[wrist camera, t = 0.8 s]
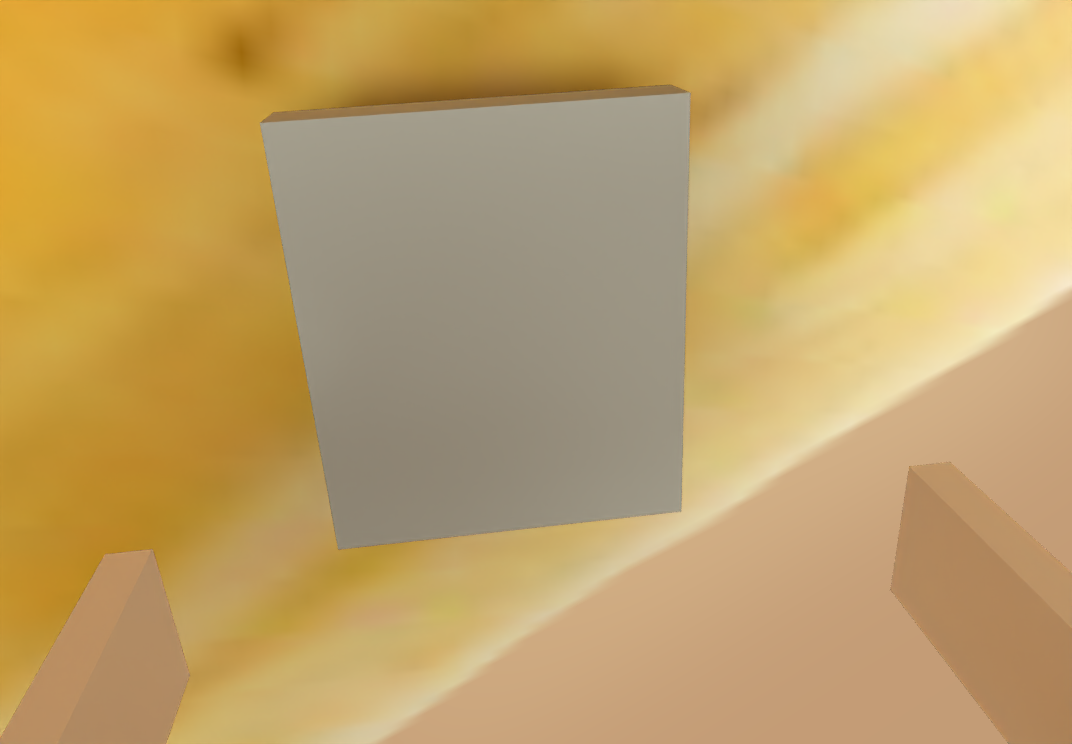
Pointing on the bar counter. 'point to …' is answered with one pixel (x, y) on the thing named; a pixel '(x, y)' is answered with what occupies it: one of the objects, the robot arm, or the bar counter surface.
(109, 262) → the bar counter surface
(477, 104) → the lid
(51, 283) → the bar counter surface
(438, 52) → the bar counter surface
